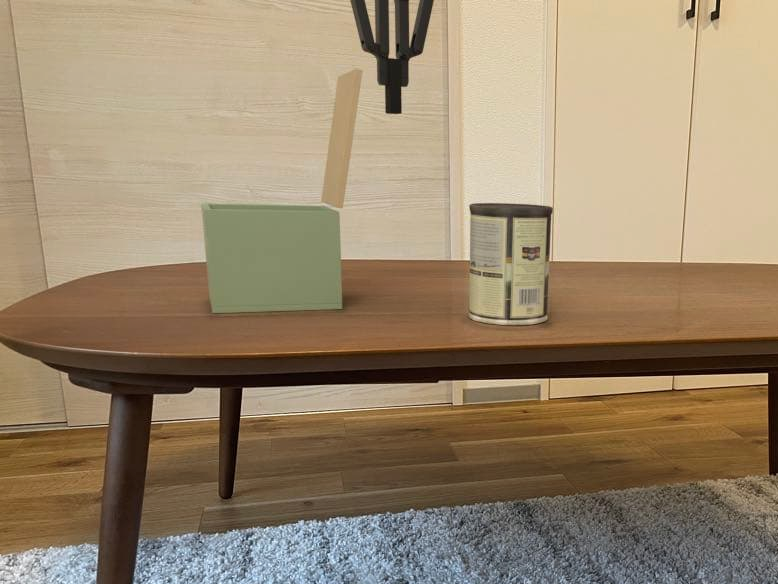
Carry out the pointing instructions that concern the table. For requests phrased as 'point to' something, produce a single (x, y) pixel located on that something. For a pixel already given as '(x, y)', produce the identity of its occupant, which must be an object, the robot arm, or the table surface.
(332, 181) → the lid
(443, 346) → the table surface
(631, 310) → the table surface
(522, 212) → the coffee can
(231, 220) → the chest
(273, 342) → the table surface
